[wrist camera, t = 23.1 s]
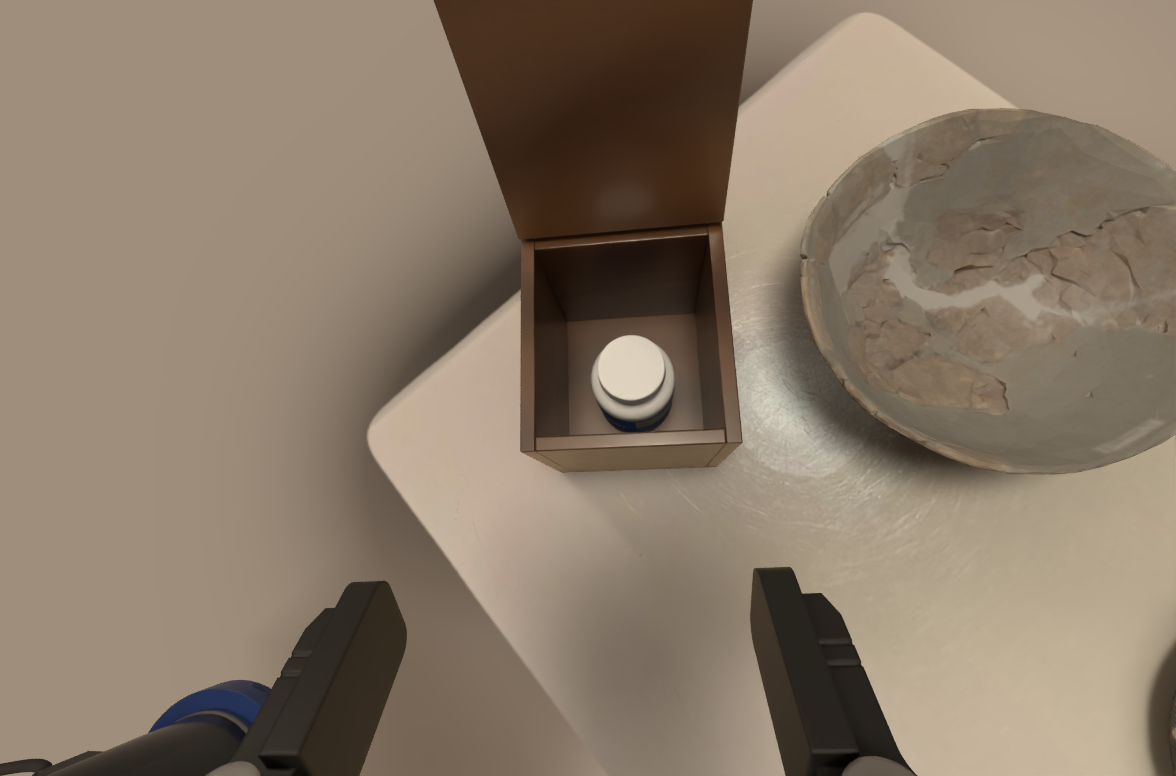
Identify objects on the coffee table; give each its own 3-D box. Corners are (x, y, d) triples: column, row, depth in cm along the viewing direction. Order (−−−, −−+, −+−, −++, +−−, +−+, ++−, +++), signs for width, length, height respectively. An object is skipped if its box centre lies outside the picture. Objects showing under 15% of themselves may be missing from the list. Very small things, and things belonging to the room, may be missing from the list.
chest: (716, 466, 40) (742, 442, 28) (561, 472, 41) (520, 452, 29) (703, 306, 43) (721, 220, 31) (559, 316, 44) (520, 238, 32)
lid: (761, -60, 18) (757, -73, 19) (428, -12, 20) (431, -25, 20) (723, 222, 30) (721, 211, 31) (518, 240, 32) (519, 229, 32)
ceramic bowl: (1172, 334, 38) (1344, 272, 29) (940, 556, 37) (1040, 568, 27) (918, 145, 44) (991, 40, 34) (709, 330, 43) (723, 274, 33)
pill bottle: (587, 390, 42) (566, 353, 32) (645, 352, 42) (642, 304, 33) (626, 450, 40) (616, 428, 31) (686, 410, 41) (695, 377, 31)
